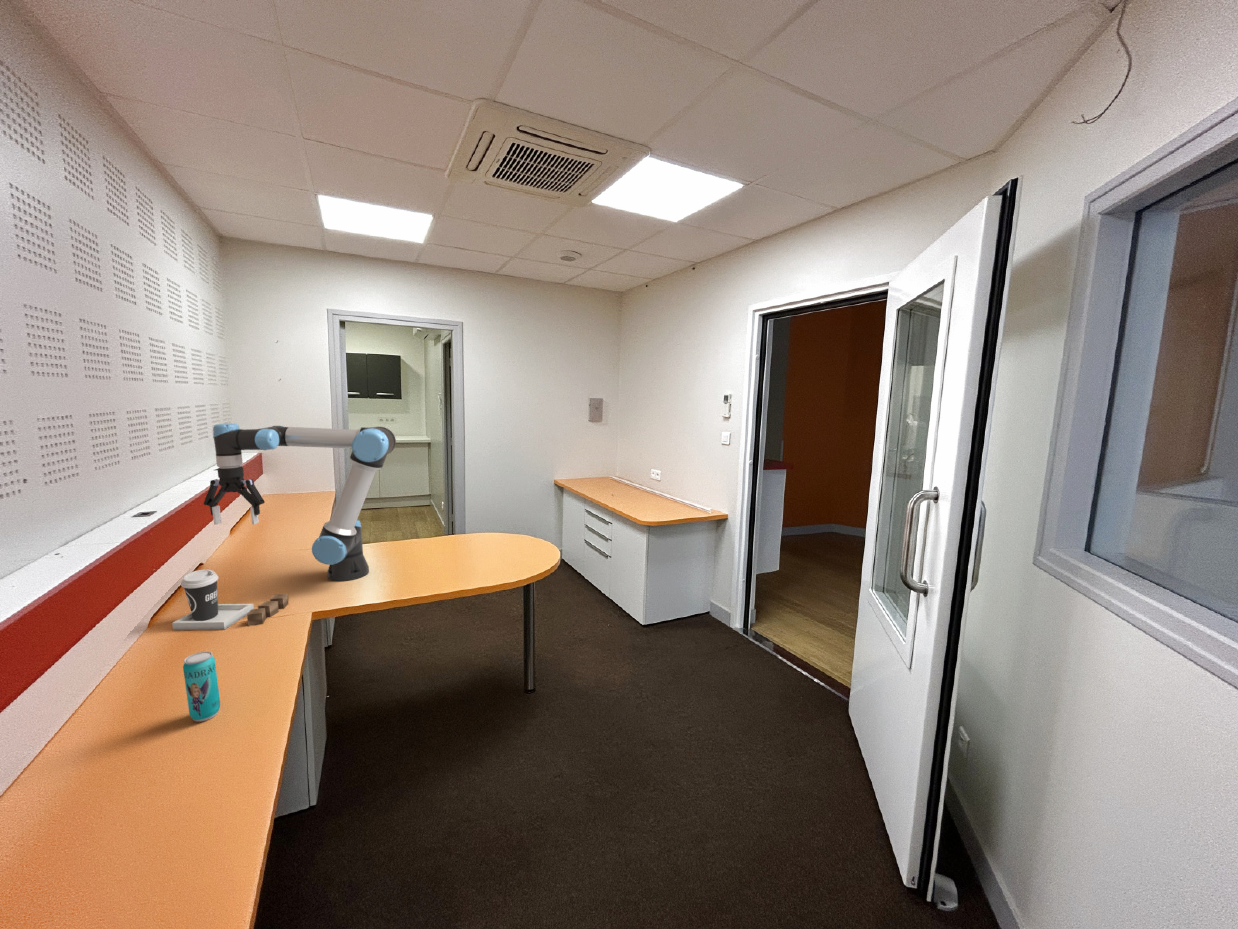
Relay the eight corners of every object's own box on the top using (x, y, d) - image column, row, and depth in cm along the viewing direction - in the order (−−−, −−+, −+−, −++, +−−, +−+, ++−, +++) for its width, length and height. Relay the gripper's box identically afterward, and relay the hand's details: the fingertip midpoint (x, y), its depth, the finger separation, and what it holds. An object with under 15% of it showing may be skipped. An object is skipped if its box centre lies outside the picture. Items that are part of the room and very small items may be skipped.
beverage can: (186, 726, 118) (178, 665, 116) (195, 712, 124) (187, 653, 121) (217, 720, 121) (209, 660, 118) (224, 706, 126) (217, 648, 123)
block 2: (278, 612, 178) (277, 601, 177) (270, 617, 174) (269, 606, 173) (267, 612, 178) (266, 601, 177) (259, 617, 174) (257, 605, 173)
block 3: (288, 604, 184) (287, 593, 183) (283, 609, 180) (282, 598, 180) (276, 605, 183) (275, 594, 183) (271, 610, 179) (269, 599, 179)
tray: (253, 610, 179) (253, 603, 178) (224, 629, 165) (223, 622, 164) (206, 611, 178) (205, 604, 178) (173, 630, 164) (172, 622, 164)
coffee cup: (203, 626, 166) (196, 584, 162) (179, 620, 168) (171, 579, 164) (231, 610, 175) (225, 571, 171) (207, 605, 177) (201, 566, 173)
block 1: (266, 619, 172) (264, 607, 172) (262, 624, 169) (261, 612, 168) (251, 621, 171) (250, 609, 170) (248, 626, 167) (247, 614, 167)
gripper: (271, 465, 191) (277, 520, 194) (202, 465, 190) (209, 521, 193) (258, 468, 183) (264, 526, 186) (186, 468, 182) (194, 526, 186)
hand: (236, 523), depth 190 cm, fingers open, 13 cm apart
